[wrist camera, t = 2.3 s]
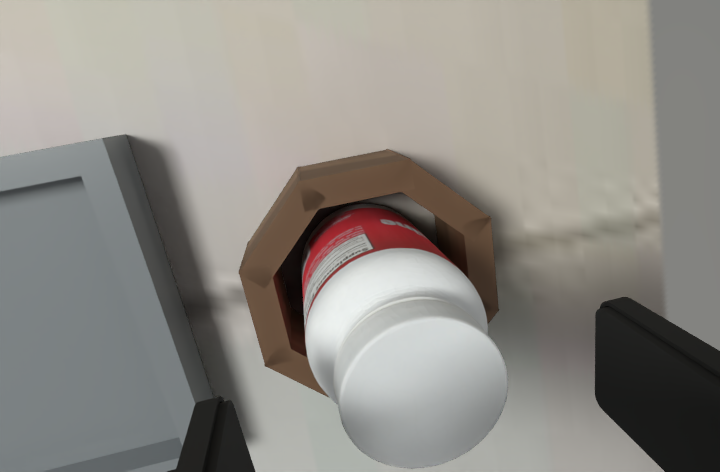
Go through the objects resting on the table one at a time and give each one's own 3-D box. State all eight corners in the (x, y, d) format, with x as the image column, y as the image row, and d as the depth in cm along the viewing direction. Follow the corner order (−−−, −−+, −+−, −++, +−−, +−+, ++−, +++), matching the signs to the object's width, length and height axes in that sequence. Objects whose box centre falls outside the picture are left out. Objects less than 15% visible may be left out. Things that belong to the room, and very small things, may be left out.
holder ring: (470, 327, 24) (504, 368, 20) (282, 373, 23) (281, 425, 19) (449, 136, 21) (484, 143, 17) (230, 179, 20) (216, 197, 16)
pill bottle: (443, 268, 23) (573, 405, 12) (350, 337, 23) (399, 528, 13) (375, 174, 21) (460, 241, 10) (274, 251, 21) (258, 392, 11)
